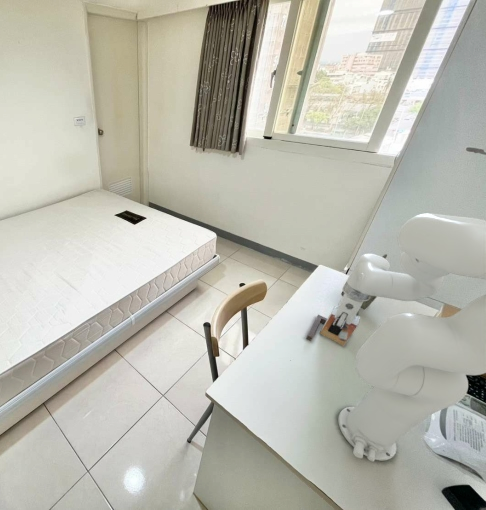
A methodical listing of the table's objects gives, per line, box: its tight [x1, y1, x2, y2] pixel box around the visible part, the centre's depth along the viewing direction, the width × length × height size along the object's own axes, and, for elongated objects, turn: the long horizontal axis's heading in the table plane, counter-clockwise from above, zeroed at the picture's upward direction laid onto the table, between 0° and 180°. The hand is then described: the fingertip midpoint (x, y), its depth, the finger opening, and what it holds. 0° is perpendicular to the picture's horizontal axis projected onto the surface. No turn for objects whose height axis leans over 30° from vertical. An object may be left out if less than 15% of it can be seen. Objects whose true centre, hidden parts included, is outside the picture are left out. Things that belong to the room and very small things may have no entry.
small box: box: [319, 306, 361, 347], centre depth 96 cm, size 8×6×10 cm
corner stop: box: [305, 314, 328, 342], centre depth 98 cm, size 14×11×2 cm
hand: (335, 327), depth 97 cm, fingers open, 5 cm apart
